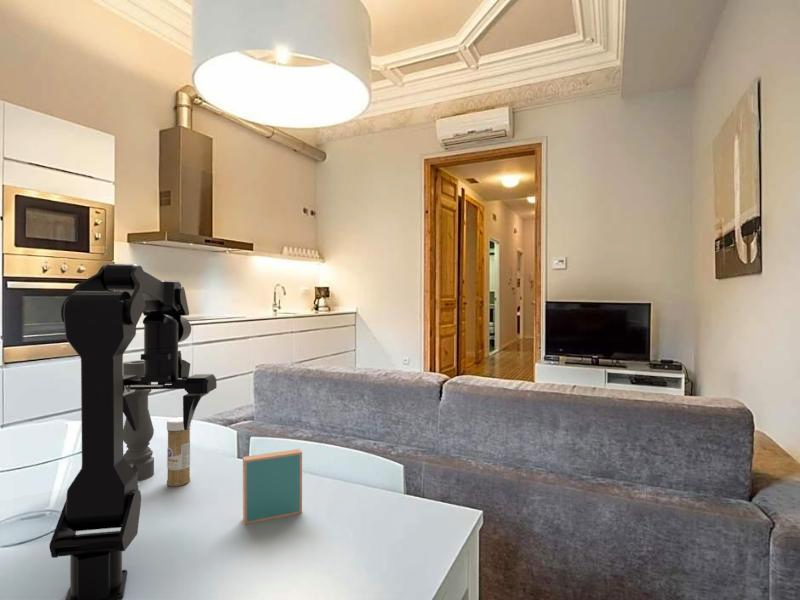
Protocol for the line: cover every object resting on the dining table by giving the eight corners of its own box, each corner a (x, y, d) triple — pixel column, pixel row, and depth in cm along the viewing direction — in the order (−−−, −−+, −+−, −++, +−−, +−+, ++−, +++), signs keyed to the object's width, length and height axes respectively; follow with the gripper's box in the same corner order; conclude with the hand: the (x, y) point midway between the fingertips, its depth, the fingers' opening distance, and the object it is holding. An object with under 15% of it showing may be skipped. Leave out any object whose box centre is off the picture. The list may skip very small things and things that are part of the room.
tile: (302, 512, 84) (302, 452, 84) (244, 524, 80) (244, 460, 80) (299, 508, 86) (299, 448, 86) (242, 519, 81) (242, 457, 81)
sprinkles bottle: (161, 485, 96) (161, 420, 96) (179, 477, 101) (179, 415, 101) (178, 488, 95) (178, 422, 95) (195, 480, 99) (195, 417, 99)
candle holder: (117, 482, 98) (117, 364, 98) (126, 472, 104) (126, 360, 104) (150, 479, 99) (150, 363, 99) (157, 469, 105) (157, 359, 105)
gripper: (225, 343, 96) (225, 418, 96) (132, 343, 95) (132, 420, 95) (206, 348, 85) (206, 433, 85) (100, 349, 84) (100, 435, 83)
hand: (161, 430), depth 87 cm, fingers open, 9 cm apart
